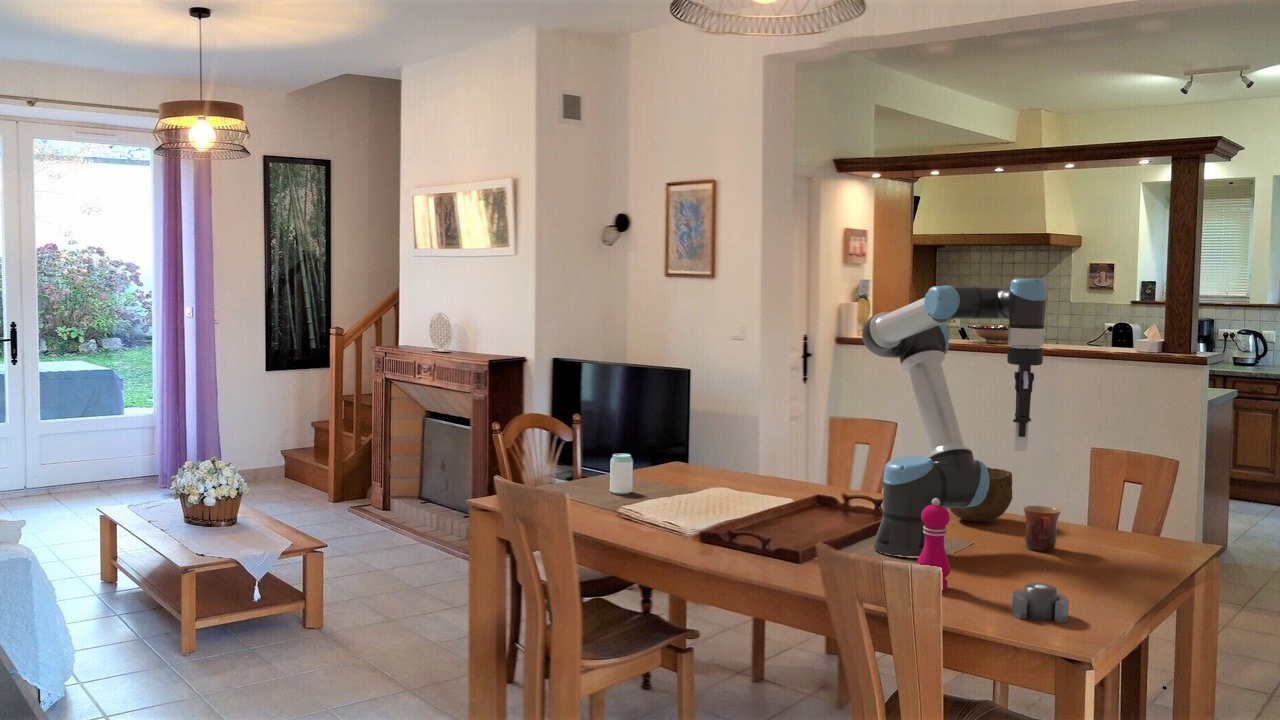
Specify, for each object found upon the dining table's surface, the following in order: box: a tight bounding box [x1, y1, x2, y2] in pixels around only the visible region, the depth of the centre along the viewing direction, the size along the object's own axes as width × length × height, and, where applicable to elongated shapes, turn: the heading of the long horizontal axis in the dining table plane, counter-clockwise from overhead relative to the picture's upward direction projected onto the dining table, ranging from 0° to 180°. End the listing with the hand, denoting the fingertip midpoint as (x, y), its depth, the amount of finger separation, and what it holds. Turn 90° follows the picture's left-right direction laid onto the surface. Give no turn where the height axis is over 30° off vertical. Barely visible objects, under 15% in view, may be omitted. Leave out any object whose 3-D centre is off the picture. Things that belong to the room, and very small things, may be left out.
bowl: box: [948, 466, 1013, 523], centre depth 291 cm, size 19×19×15 cm
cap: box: [1024, 582, 1058, 622], centre depth 208 cm, size 6×6×6 cm
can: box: [609, 453, 634, 495], centre depth 322 cm, size 7×7×12 cm
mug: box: [1023, 505, 1062, 553], centre depth 260 cm, size 12×9×10 cm
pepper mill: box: [916, 498, 951, 592], centre depth 226 cm, size 7×7×20 cm
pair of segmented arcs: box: [1010, 589, 1070, 624], centre depth 208 cm, size 10×7×4 cm
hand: (1020, 450), depth 234 cm, fingers closed
